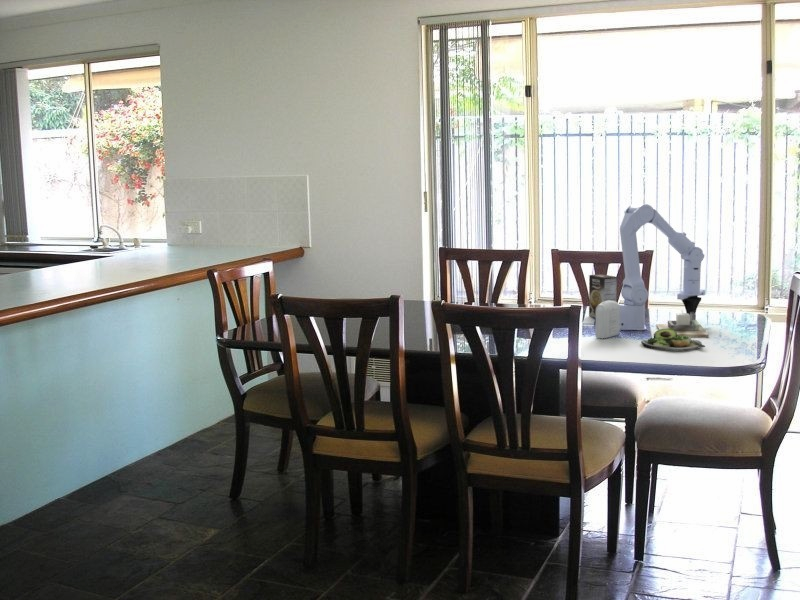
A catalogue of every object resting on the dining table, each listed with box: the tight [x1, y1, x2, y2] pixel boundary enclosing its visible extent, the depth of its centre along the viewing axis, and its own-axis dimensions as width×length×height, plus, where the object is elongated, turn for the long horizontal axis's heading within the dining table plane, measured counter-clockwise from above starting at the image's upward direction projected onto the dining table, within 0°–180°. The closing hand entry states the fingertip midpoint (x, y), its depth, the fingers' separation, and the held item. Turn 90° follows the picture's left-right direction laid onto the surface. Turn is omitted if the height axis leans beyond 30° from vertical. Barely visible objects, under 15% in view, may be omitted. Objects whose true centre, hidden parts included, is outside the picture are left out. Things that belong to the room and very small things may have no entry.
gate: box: [690, 312, 700, 330], centre depth 304 cm, size 1×14×4 cm, turn 169°
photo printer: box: [594, 300, 620, 340], centre depth 296 cm, size 10×4×12 cm, turn 134°
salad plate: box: [641, 329, 706, 352], centre depth 279 cm, size 19×18×5 cm
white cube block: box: [675, 312, 690, 325], centre depth 302 cm, size 4×4×5 cm
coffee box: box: [588, 273, 618, 319], centre depth 332 cm, size 9×6×16 cm
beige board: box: [655, 319, 710, 338], centre depth 307 cm, size 15×30×3 cm, turn 170°
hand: (690, 317), depth 313 cm, fingers closed
